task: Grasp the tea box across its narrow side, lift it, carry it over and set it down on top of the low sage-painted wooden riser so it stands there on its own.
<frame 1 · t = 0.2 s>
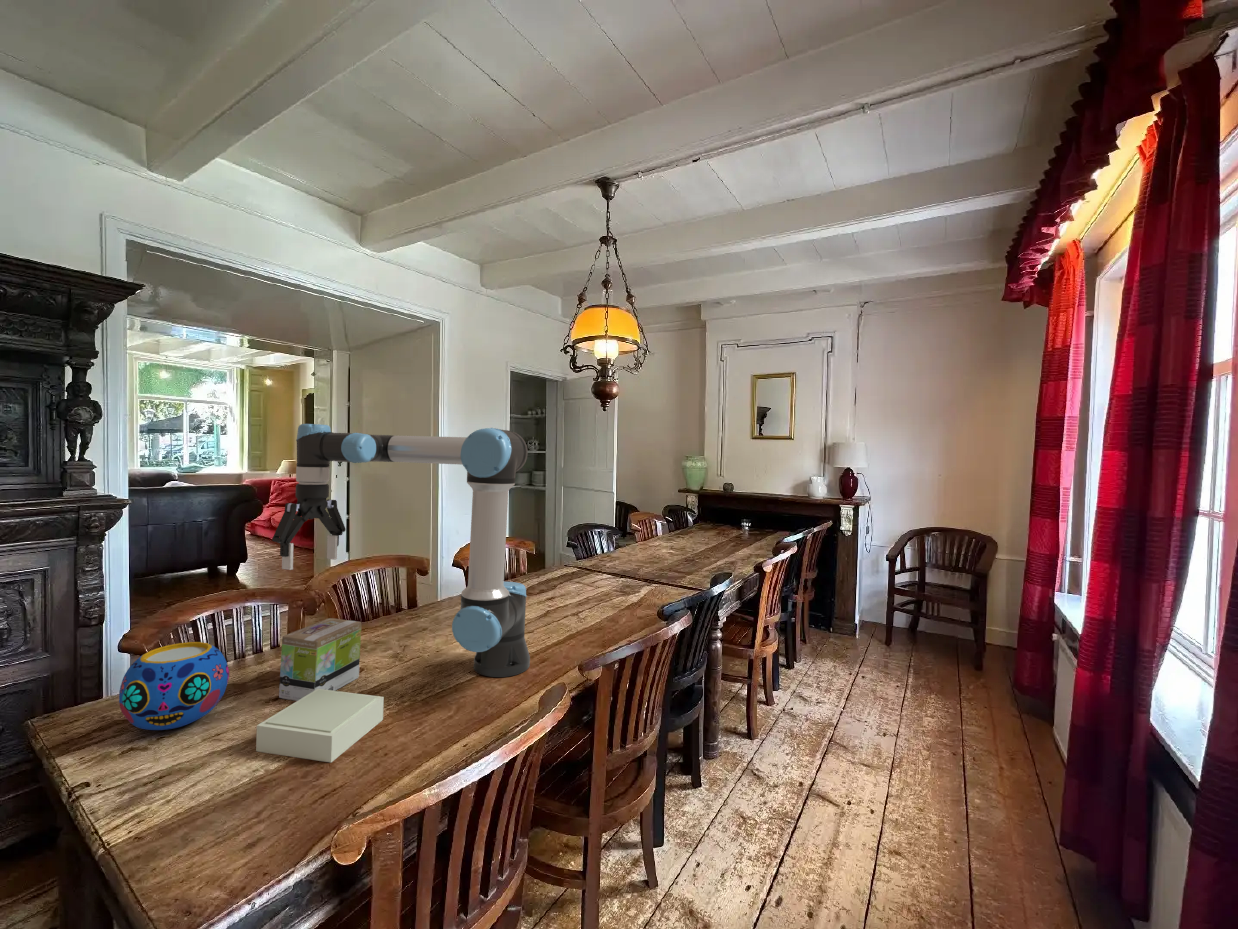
hand: (310, 564, 137), 28 cm above the table, fingers open, 13 cm apart
riser: (323, 734, 107), on the table
ceramic pot: (175, 723, 109), on the table
tea box: (321, 688, 127), on the table
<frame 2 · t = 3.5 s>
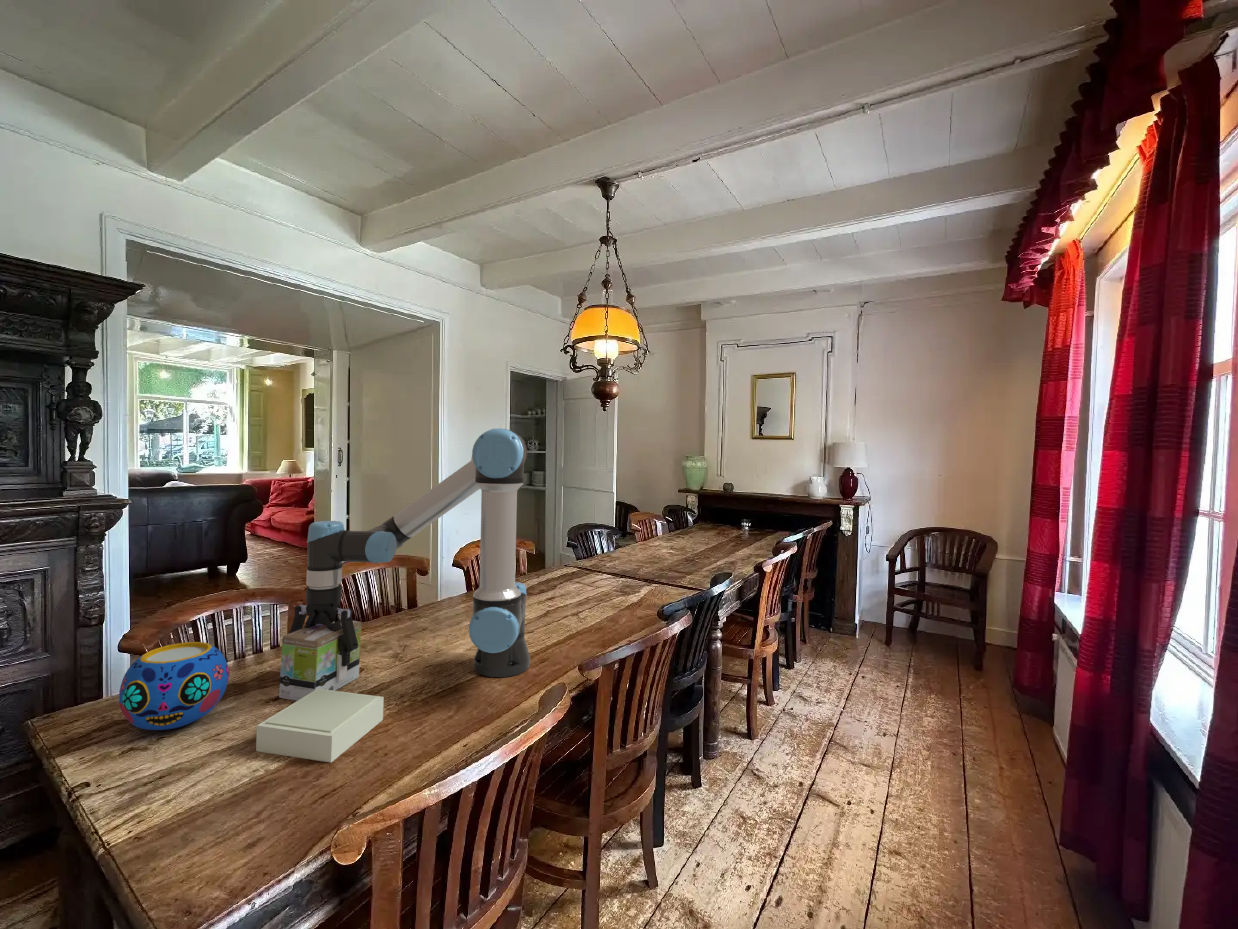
hand: (321, 676, 127), 3 cm above the table, fingers closed on tea box, 10 cm apart
tea box: (321, 688, 127), on the table, touching gripper
everything else where it was.
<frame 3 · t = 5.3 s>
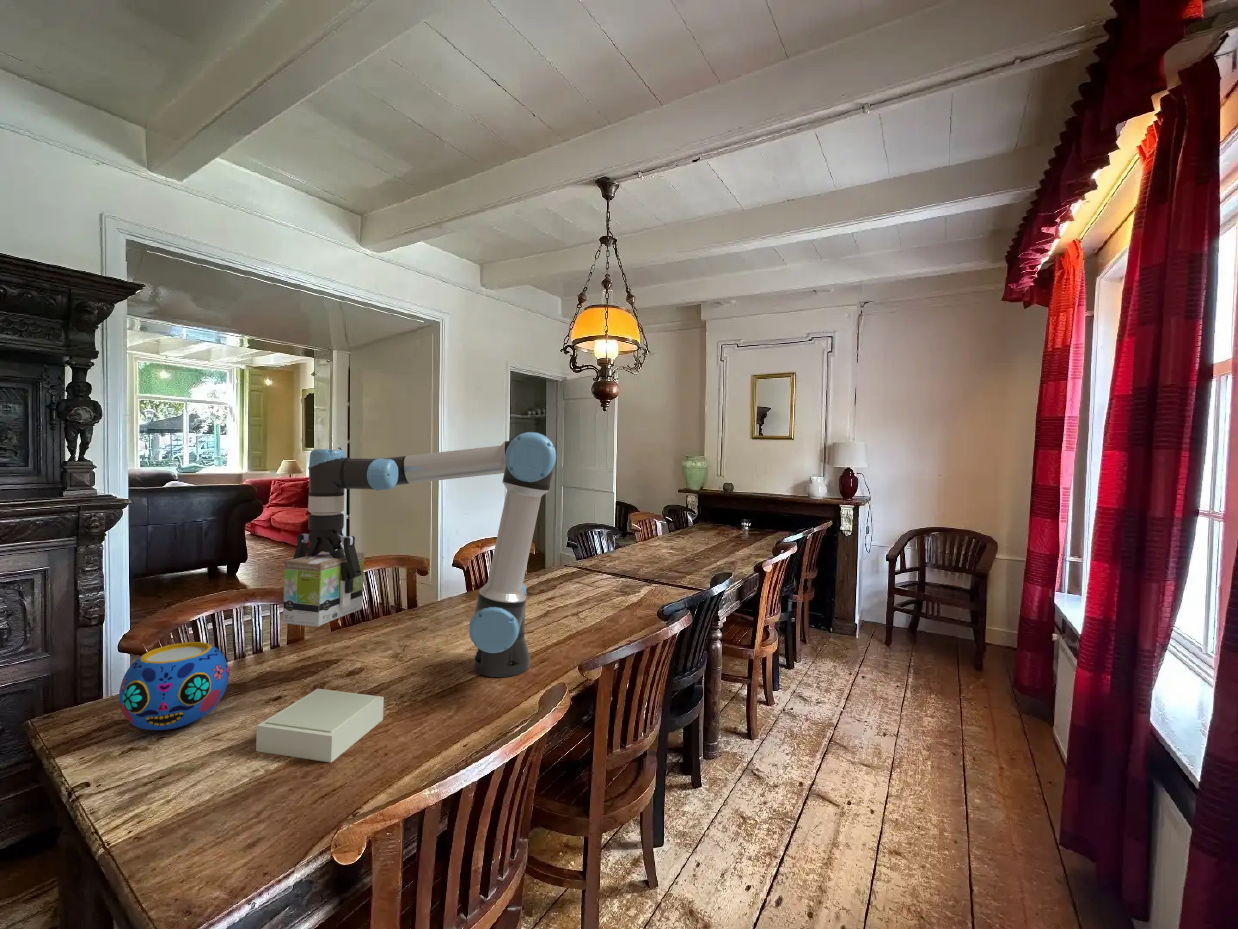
hand: (325, 604, 126), 20 cm above the table, fingers closed on tea box, 10 cm apart
tea box: (325, 617, 126), point 17 cm above the table, touching gripper
everything else where it was.
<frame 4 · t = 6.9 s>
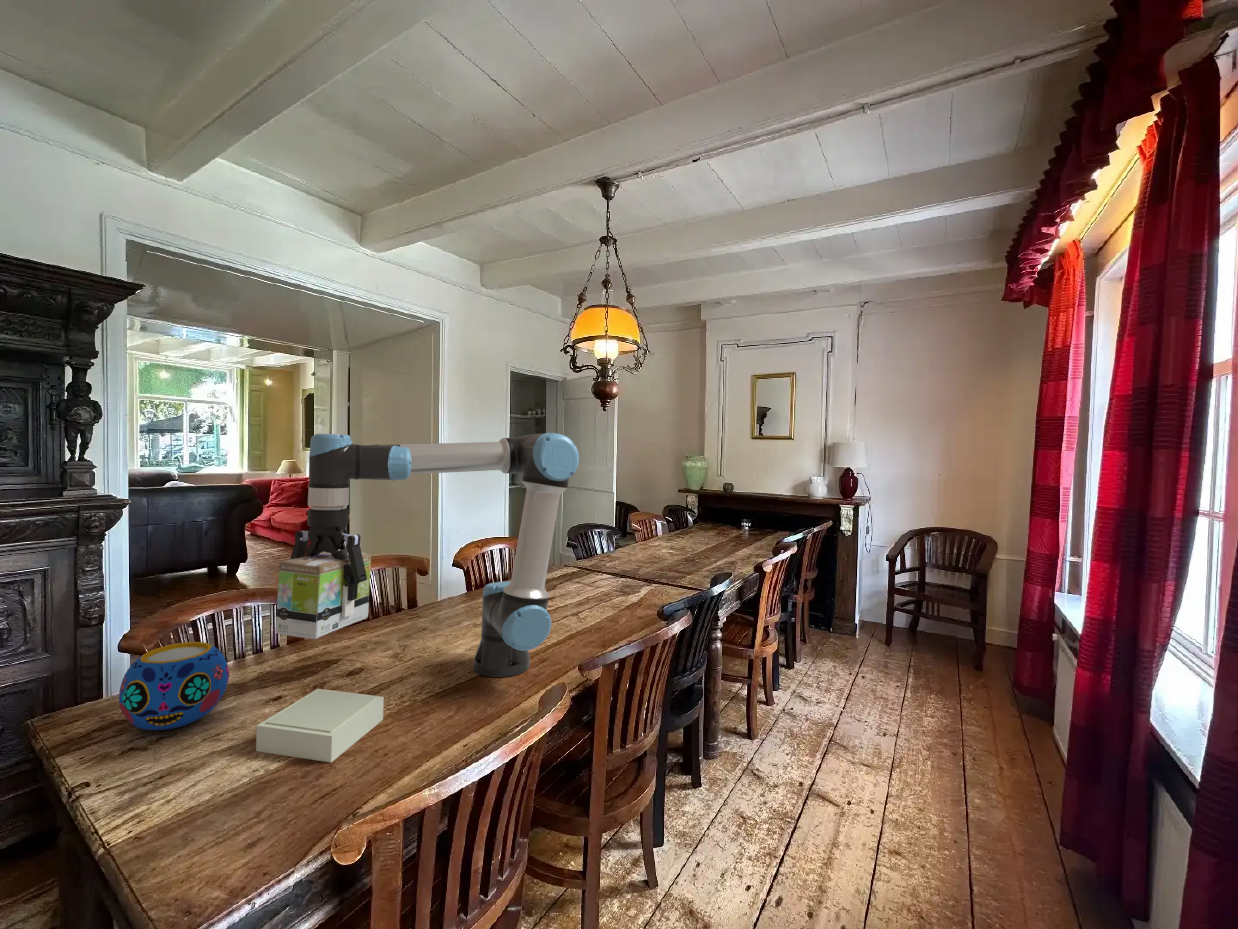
hand: (325, 612, 110), 24 cm above the table, fingers closed on tea box, 10 cm apart
tea box: (324, 627, 110), point 21 cm above the table, touching gripper
everything else where it was.
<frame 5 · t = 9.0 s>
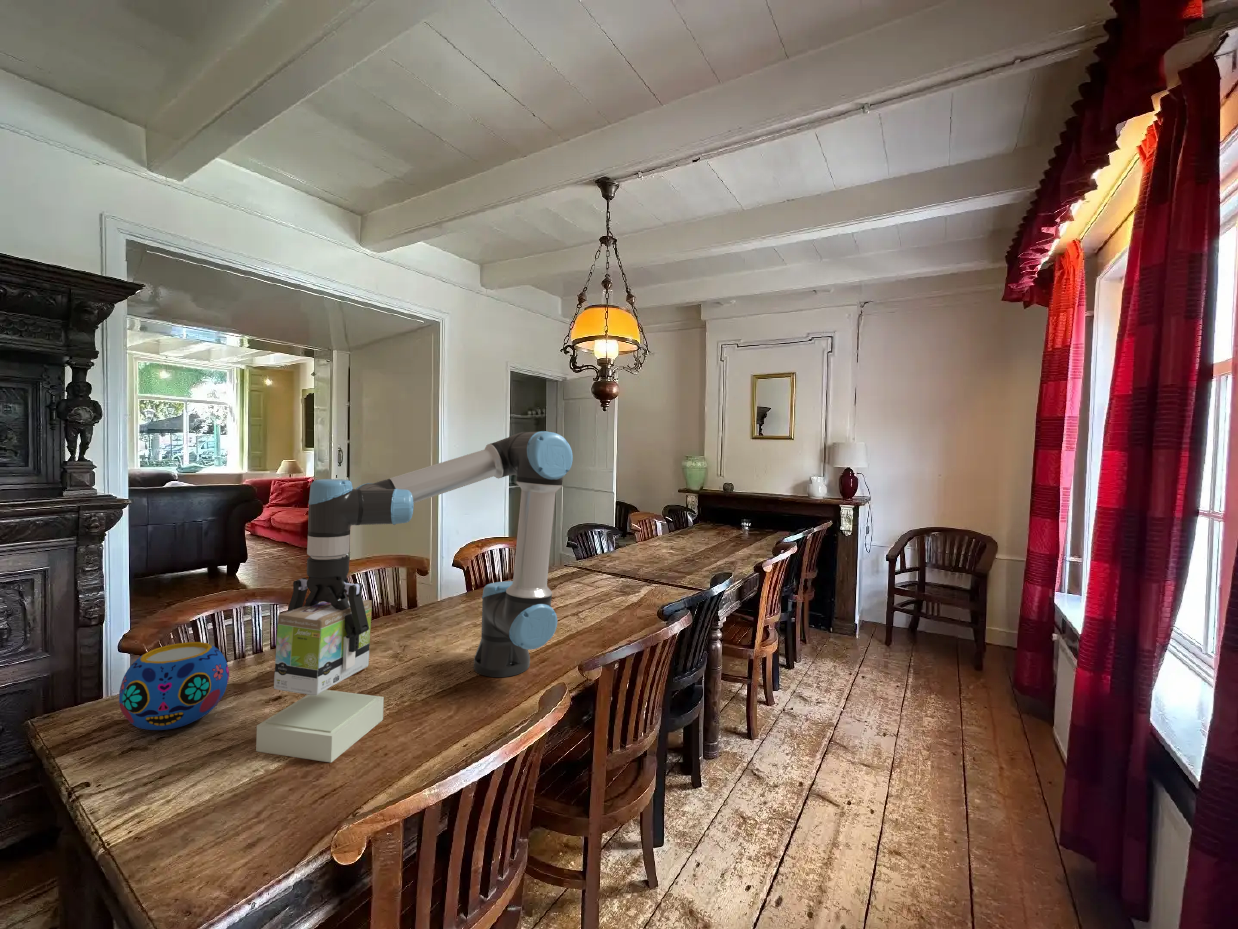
hand: (325, 664, 106), 15 cm above the table, fingers closed on tea box, 10 cm apart
tea box: (324, 678, 106), point 12 cm above the table, touching gripper
everything else where it was.
when the fingers open (9 cm above the table, at t = 10.6 s): tea box drops 1 cm, resting on riser.
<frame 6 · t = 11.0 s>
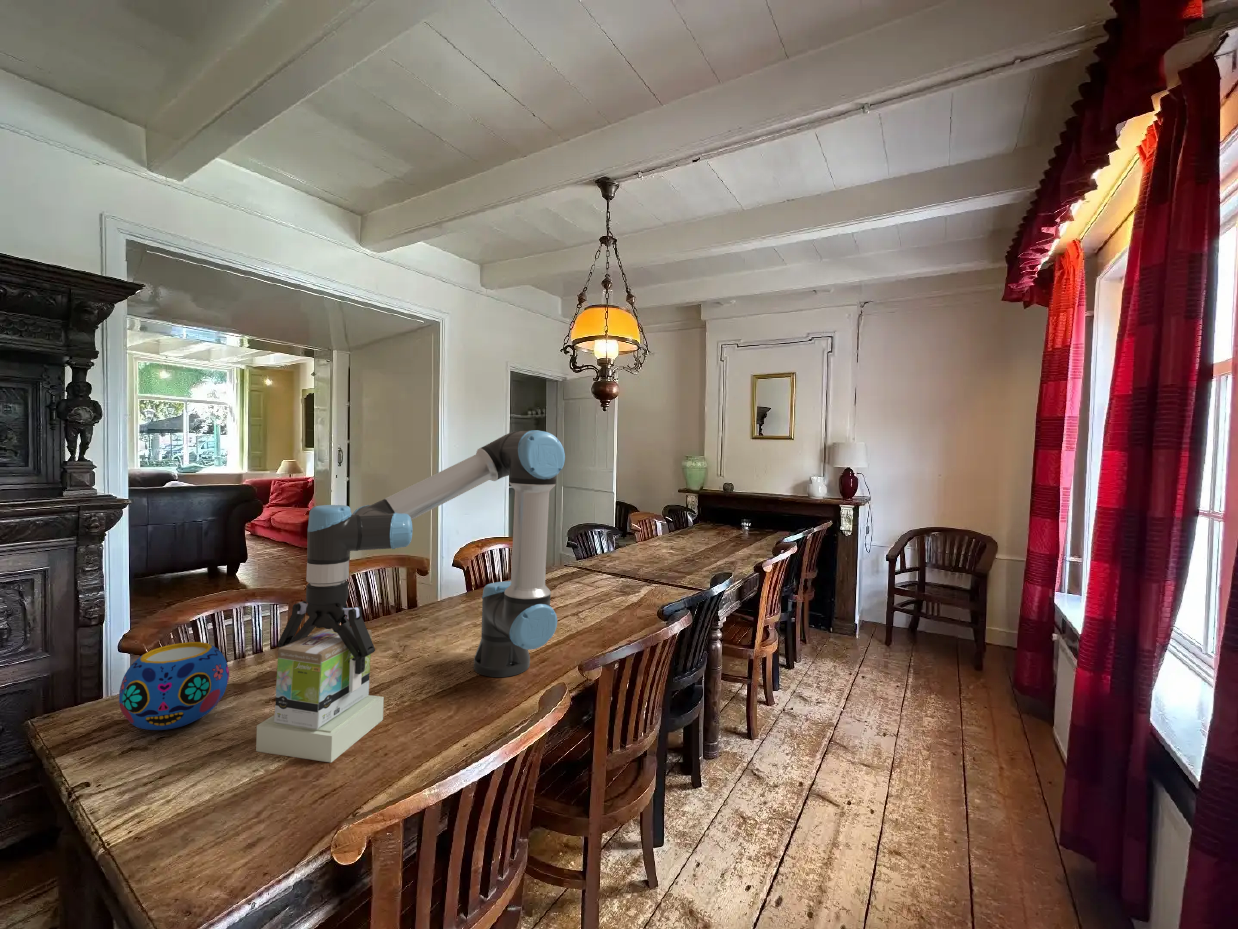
hand: (324, 685, 106), 10 cm above the table, fingers open, 13 cm apart
tea box: (324, 710, 106), point 5 cm above the table, touching riser
everything else where it was.
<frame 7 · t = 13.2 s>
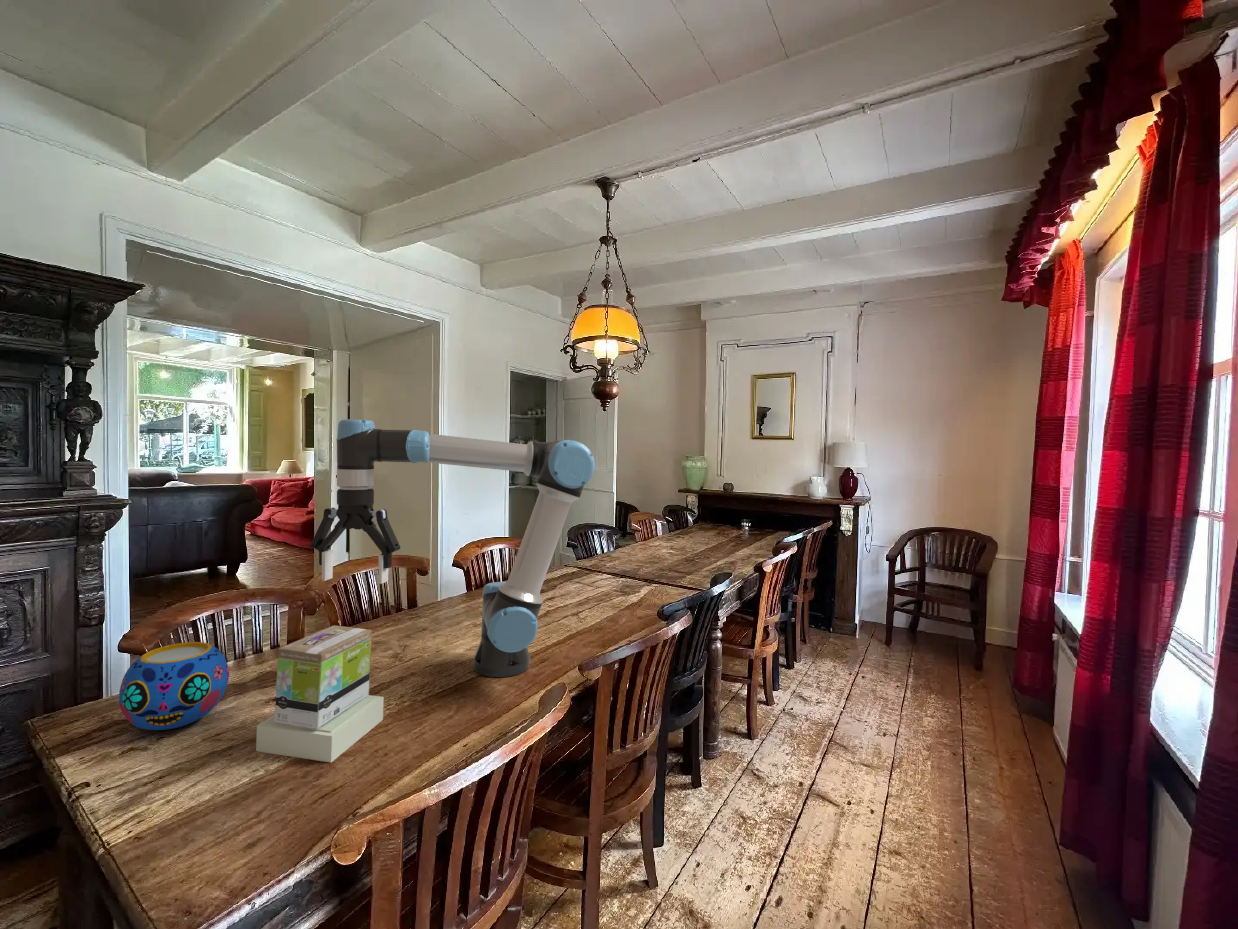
hand: (355, 581, 119), 28 cm above the table, fingers open, 13 cm apart
nothing on the table moved.
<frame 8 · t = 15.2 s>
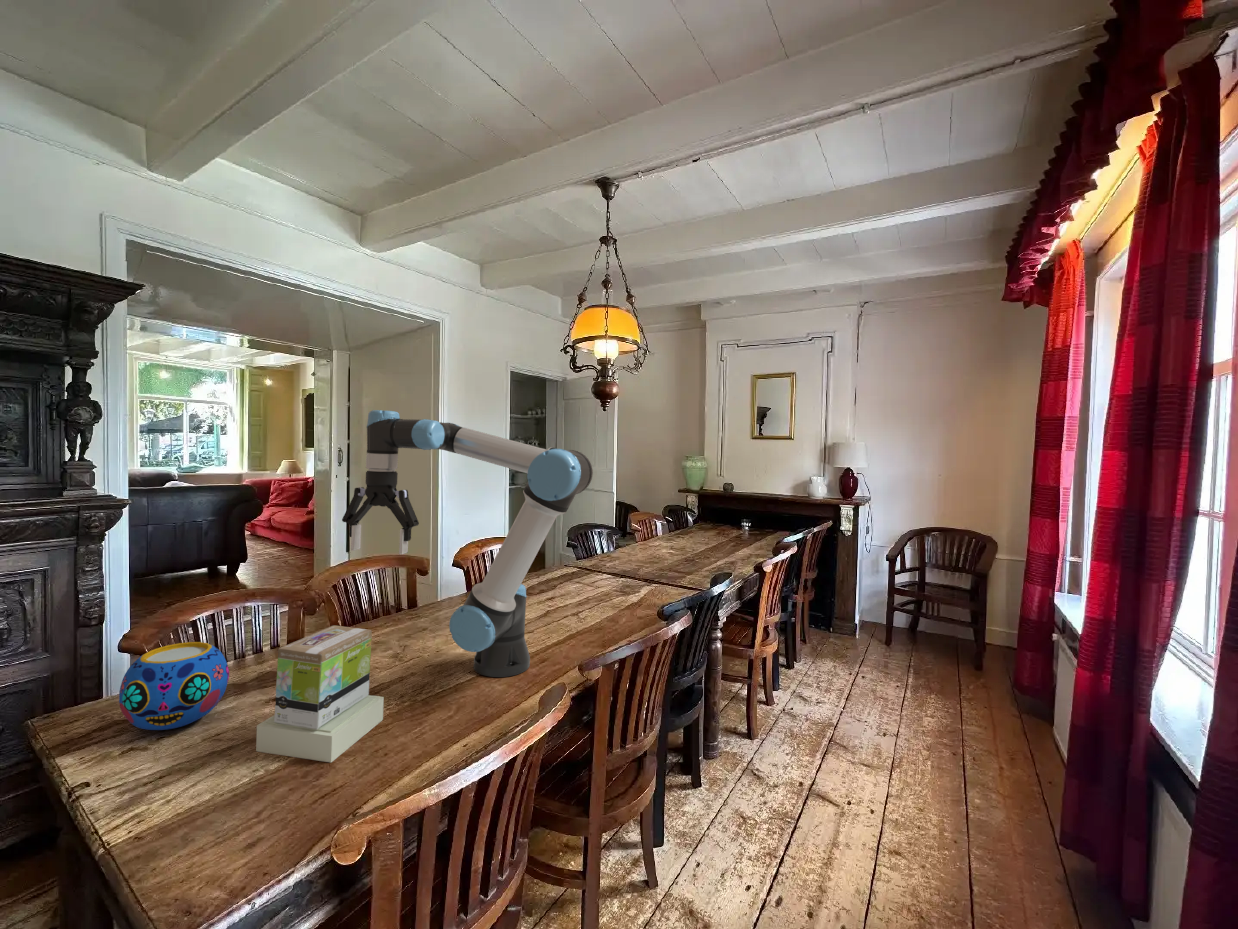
hand: (379, 551, 136), 32 cm above the table, fingers open, 13 cm apart
nothing on the table moved.
at the end: tea box 0.1 cm from the riser (horizontally); tea box point 5.1 cm above the table; tea box tilted 0° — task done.
